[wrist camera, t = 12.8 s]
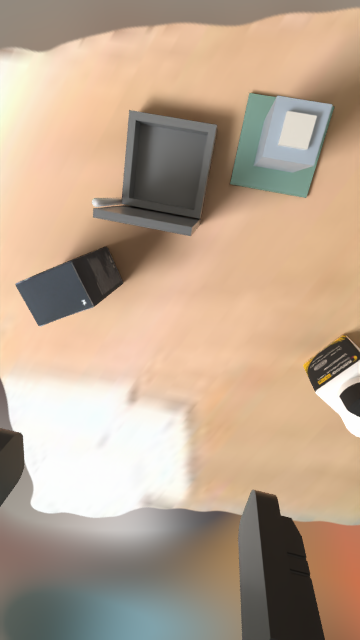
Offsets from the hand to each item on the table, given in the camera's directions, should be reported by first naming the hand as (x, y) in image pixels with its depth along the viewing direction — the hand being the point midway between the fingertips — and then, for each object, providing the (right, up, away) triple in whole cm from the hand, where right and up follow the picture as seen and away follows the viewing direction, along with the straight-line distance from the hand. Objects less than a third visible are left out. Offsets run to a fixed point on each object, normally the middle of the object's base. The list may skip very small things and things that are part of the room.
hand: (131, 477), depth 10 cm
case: (0, +24, +26) cm, 35 cm away
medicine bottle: (+24, -1, +33) cm, 41 cm away
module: (+13, +25, +24) cm, 36 cm away
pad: (+13, +25, +24) cm, 37 cm away
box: (-11, +12, +33) cm, 37 cm away
